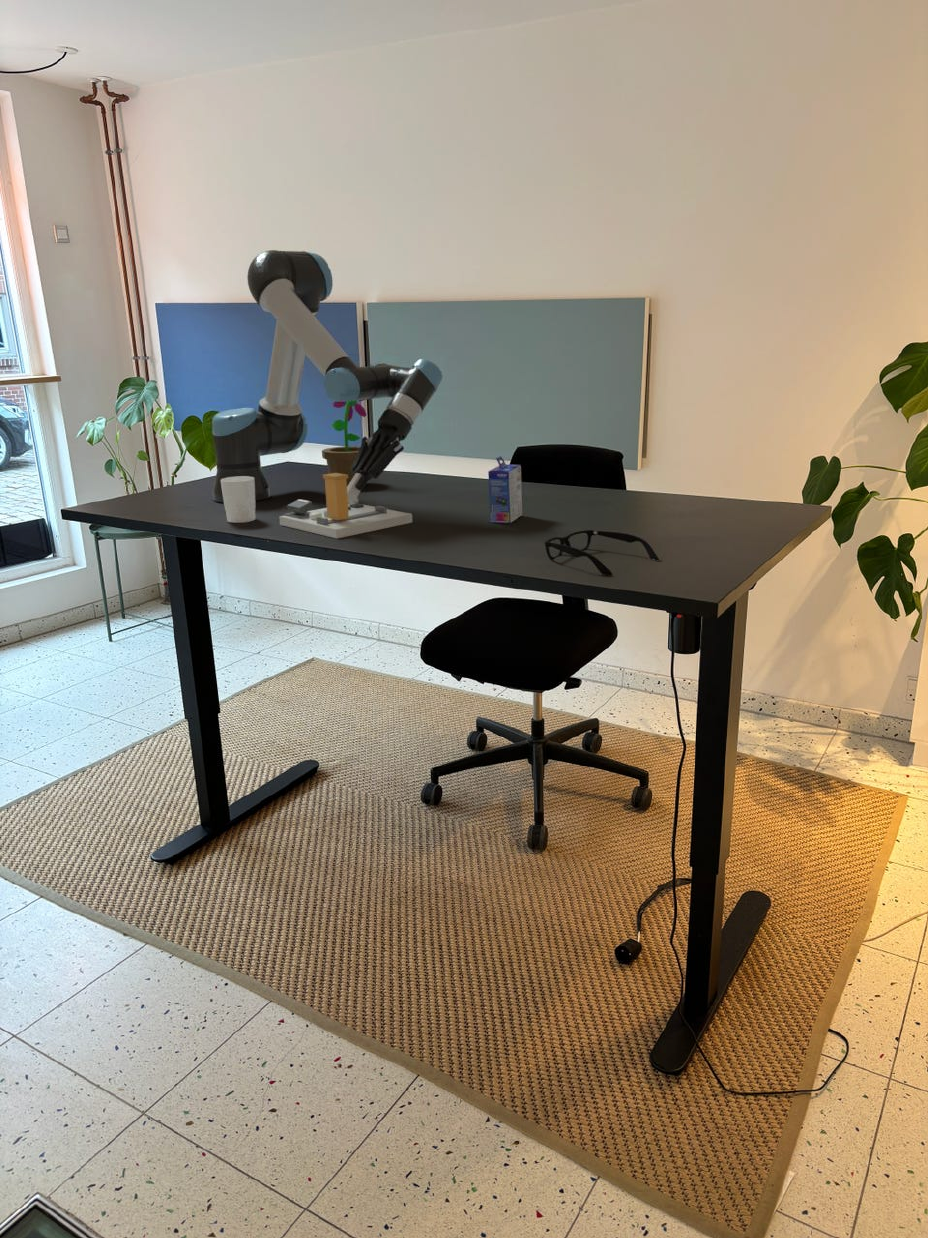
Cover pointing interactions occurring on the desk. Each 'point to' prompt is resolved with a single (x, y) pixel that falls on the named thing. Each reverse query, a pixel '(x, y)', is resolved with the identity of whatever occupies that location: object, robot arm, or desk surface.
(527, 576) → the desk surface
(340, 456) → the flowerpot
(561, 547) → the glasses
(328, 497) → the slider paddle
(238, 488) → the white cup
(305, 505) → the rocker
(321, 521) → the console
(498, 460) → the ink cartridge box
